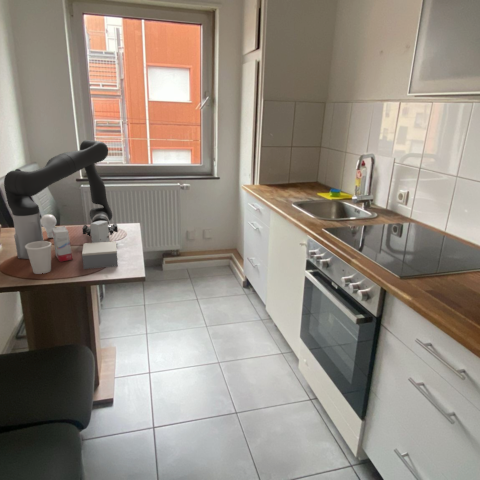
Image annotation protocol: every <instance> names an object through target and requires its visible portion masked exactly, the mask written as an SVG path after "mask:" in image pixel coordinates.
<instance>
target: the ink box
mask: <svg viewBox="0 0 480 480" xmlns="http://www.w3.org/2000/svg"><path fill="white" fill-rule="evenodd" d="M52 232H53V238H52V239H53V245H54V253H55V256H56V258H57V259H58V262H65V261H66V262H67V261H71V260H73V253H72V248H71V247H72V246H71V239H70V234H69V230H68V229H67V227H66V225H61V226H55V227H53V228H52Z"/></svg>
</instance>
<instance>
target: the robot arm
mask: <svg viewBox="0 0 480 480" xmlns="http://www.w3.org/2000/svg"><path fill="white" fill-rule="evenodd" d="M108 154H109V147H108V145H107V144H106V143H105V142H102V141H100V140H92V139H90V140H89V139H85V140H83V141H81V143H80V146H79V150H72V151H67V152H63V153H59V154H58V155H55V156H53V157H51V158H49V159H48V161H47V162H46V163H45V165H44V167H41V168H39V169H36V170H32V171H23V170H11V171H8V172H7V173H6V174H5V175H4V179H3V186H4V187H3V188H4V193H5V196H6V201H7V205H8V208H9V209H10V211H11V214H12V220H13V227H14V228H13V229H14V235H13V236H14V237H13V238H14V242H15V248H16V253H17V254H16V255H17V259H24V260H30V259H29V256H28V253H27V249H26V248H25V246H26V245H27V244H29V243H32V242H37V241H45V239H44V236H43V234H44V233H43V228H42V227H43V226H42V224H41V214H40V207H39V205H38V204H37V203H36V202H34V201H33V200H32V199H31V198H30V197H33V196H35V195H36V196H37V194H39V193H41V192H42V191H43V190H45V189H46V188H48V187H49V186H51V185H52V184H55V183H57V182H59V181H61V180H63V179H65V178H67V177H69V176H72V175H74V174H75V173H77V172H79V171H81V170H83V169H84V170H85V175H86V177H87V181H88V184H89V189H90V190H89V191H90V197H91V202H92V204H94V205H100V206H102V207H94V208H92V209H90V211H89V218H90V220H91V223H93V222H96V221H100V220H102V221H108V229H109V236H112V235H113V234H114V232H115V233H118V230H119V229H118V228H119V227H118V224H117V223H116V222H114V223H113V224H112V225H111V224H110V221H111V220H112V219H113V212H112V209H111V207H110V205H109V202H108V198H107V190H106V186H105V183H104V181H103V179H102V177H101V176H100V174H99V171H97V168H96V165H95V164H97V163H101V162H102V161H105V159H107V157H108V156H109V155H108ZM82 234H83V235H86V236H88V237H91V227H90V226H89V225H86V224H84V225H83V227H82Z"/></svg>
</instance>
